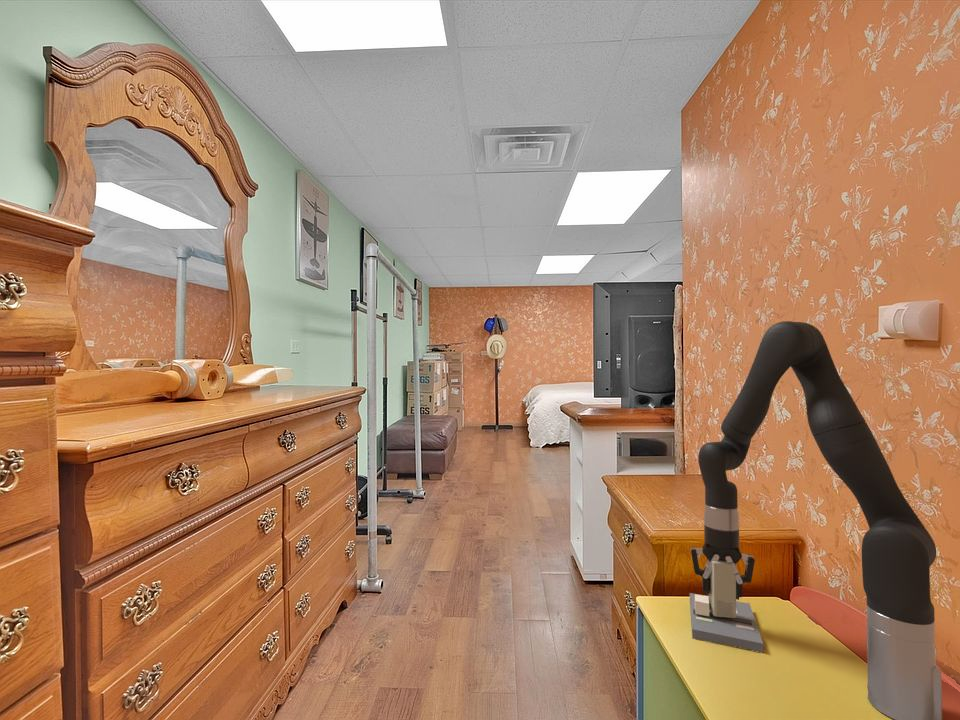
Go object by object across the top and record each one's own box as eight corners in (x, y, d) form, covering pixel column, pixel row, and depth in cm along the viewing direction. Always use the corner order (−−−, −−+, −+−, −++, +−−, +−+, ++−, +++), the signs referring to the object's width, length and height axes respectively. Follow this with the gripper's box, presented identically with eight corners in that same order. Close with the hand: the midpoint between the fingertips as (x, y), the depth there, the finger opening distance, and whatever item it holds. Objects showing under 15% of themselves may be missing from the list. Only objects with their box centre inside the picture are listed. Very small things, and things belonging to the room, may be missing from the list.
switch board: (749, 611, 120) (749, 602, 120) (763, 653, 101) (763, 642, 102) (689, 600, 125) (689, 592, 125) (692, 638, 107) (692, 628, 107)
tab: (708, 608, 116) (708, 596, 116) (709, 616, 112) (709, 603, 112) (694, 606, 117) (694, 594, 117) (695, 613, 113) (695, 601, 113)
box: (729, 609, 115) (730, 556, 115) (736, 619, 110) (737, 563, 110) (706, 607, 115) (707, 554, 116) (712, 616, 111) (713, 562, 111)
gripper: (689, 525, 113) (689, 596, 112) (758, 533, 107) (759, 608, 106) (688, 517, 120) (689, 584, 119) (753, 524, 114) (754, 594, 113)
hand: (722, 595), depth 113 cm, fingers closed on box, 5 cm apart
